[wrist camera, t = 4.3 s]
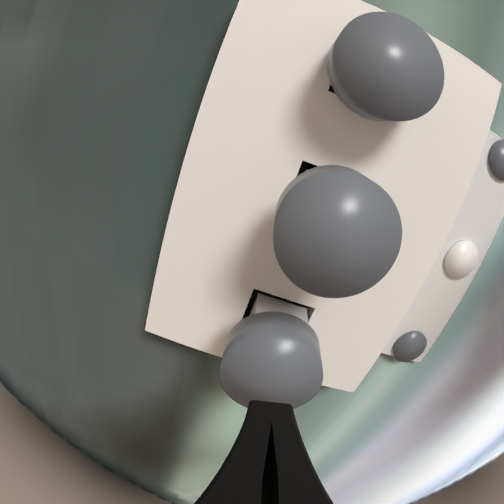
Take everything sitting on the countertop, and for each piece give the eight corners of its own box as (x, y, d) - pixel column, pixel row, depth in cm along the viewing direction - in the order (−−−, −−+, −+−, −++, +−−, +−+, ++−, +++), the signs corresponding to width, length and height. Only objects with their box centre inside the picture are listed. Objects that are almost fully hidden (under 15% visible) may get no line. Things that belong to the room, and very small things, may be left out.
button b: (383, 180, 13) (422, 203, 9) (346, 262, 14) (367, 312, 10) (294, 143, 12) (301, 151, 9) (261, 232, 14) (254, 275, 10)
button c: (328, 299, 15) (341, 355, 11) (296, 360, 16) (298, 420, 13) (247, 272, 15) (236, 325, 11) (223, 338, 16) (208, 396, 12)
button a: (413, 62, 12) (454, 46, 8) (388, 135, 13) (425, 140, 9) (335, 25, 12) (353, -6, 8) (307, 100, 13) (318, 91, 9)
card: (522, 155, 13) (527, 156, 12) (417, 360, 18) (420, 365, 18) (486, 126, 12) (491, 127, 12) (378, 350, 18) (380, 356, 17)
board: (480, 86, 12) (502, 84, 10) (348, 369, 19) (353, 392, 17) (257, -16, 11) (253, -33, 9) (156, 310, 18) (144, 330, 16)
